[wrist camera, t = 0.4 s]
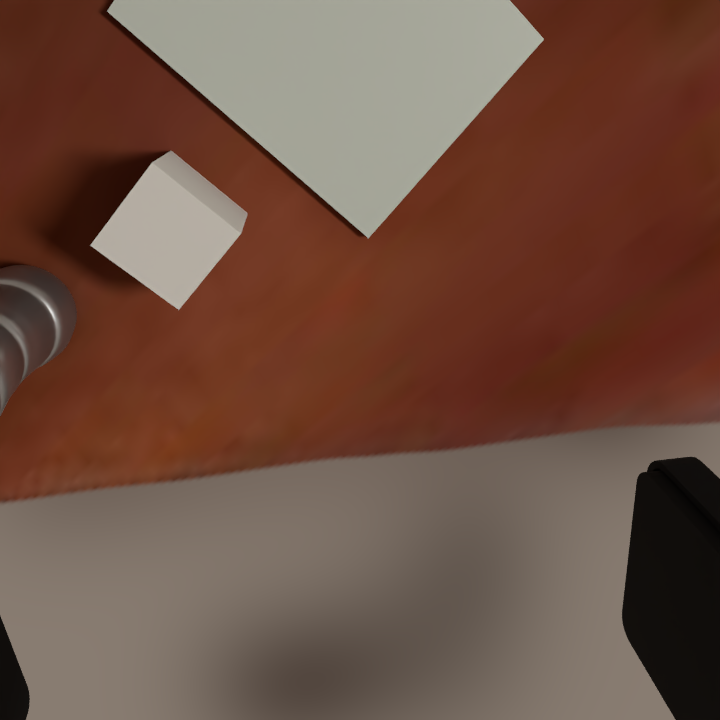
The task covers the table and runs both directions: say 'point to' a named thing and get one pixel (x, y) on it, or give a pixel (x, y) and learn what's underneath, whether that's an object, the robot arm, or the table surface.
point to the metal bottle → (31, 323)
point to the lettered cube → (171, 229)
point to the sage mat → (342, 81)
